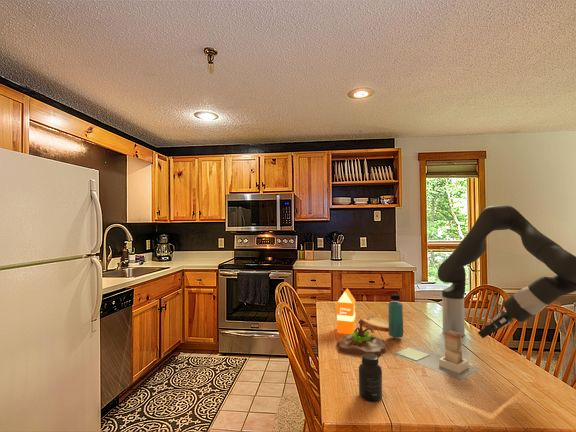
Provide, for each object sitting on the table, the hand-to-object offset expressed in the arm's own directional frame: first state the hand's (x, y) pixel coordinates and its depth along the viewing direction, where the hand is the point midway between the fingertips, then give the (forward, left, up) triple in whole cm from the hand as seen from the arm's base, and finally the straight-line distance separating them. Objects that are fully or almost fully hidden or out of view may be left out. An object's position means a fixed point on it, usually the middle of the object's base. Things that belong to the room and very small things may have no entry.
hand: (483, 332), depth 107 cm
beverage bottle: (-8, -40, -16) cm, 44 cm away
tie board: (+3, -16, -15) cm, 23 cm away
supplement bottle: (+40, -15, -16) cm, 45 cm away
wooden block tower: (+2, -9, -14) cm, 17 cm away
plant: (+11, -43, -16) cm, 48 cm away
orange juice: (+2, -61, -16) cm, 63 cm away
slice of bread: (-18, -57, -16) cm, 62 cm away
